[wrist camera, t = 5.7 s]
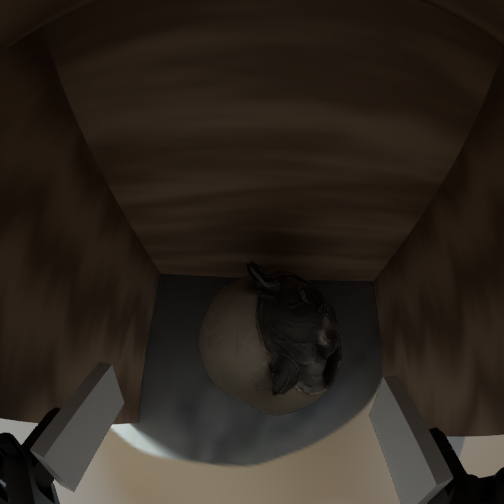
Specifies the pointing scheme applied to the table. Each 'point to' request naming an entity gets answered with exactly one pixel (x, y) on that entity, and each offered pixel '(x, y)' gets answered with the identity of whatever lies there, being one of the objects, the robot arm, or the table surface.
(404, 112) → the walnut box
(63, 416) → the robot arm
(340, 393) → the table surface
